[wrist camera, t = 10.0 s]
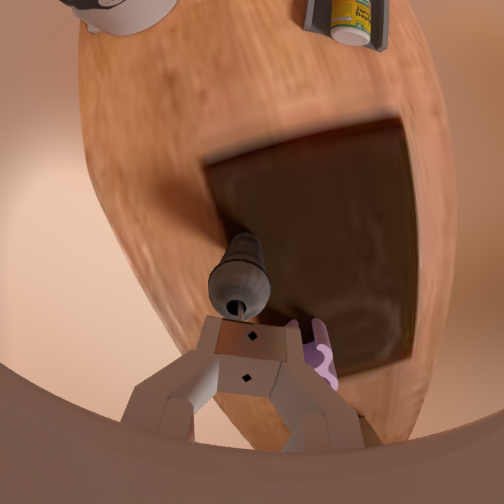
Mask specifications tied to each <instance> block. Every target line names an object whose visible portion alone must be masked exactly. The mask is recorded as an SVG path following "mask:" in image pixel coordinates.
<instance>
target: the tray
mask: <svg viewBox="0 0 504 504" xmlns="http://www.w3.org/2000/svg"><path fill="white" fill-rule="evenodd" d="M369 2H370V4H371V34H370V41H369V43H368V44H366V45H362V46H364V47H367V48H370V49H373V50H376V51H378V52H382V51H383V50H385V49H387V45H388V28H389V0H369ZM331 14H332V0H307V5H306V12H305V19H304V26H303V30H305V31H310V32H314V33H319V34H323V35H327V36H331ZM331 37H332V36H331Z"/></svg>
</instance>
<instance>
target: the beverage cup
mask: <svg viewBox="0 0 504 504" xmlns="http://www.w3.org/2000/svg"><path fill="white" fill-rule="evenodd" d="M208 291H209V299H210V301H211V303H212V305H213V307H214V309H215V310H216V311H217V312H218V313H219V314H220V315H222V316H224V317H225V318H227V319H232V320H238V321H243V320H248V319H251V318H252V317H254V316H256V315H258V314H259V313H260V312H261V311H262V310H263V309H264V307H265V305H266V303H267V301H268V299H269V295H270V293H271V281H270V278H269V275H268V274H267V272H266V269H265V264H264V258H263V252H262V248H261V244H260V241H259V239H258V238H257V237H256V236H255V235H253V234H251V233H240V234H238V235H236V236H235V237H234V239H233V240H232V241H231V243H230V244H229V246H228V248H227V250H226V252H225V254H224V256H223V258H222V259H221V261H220V263H219V264H218V265H217V266H216V267H215V268H214V270H213V271H212V272H211V273H210V277H209V280H208Z"/></svg>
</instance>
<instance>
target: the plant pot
mask: <svg viewBox="0 0 504 504" xmlns="http://www.w3.org/2000/svg"><path fill="white" fill-rule="evenodd" d="M358 419H359V423H360V428H361V432H362V437H363V442H364V447H365V448H366V447H373V446H380V445H383V444H382V442H381V440H380V438H379V437H378V435H377V434H376V432H375V431H374V429H373V428H372V427H371V425H370V424H369V423H368V422H367V420H366V419H365V418H363V417H358Z"/></svg>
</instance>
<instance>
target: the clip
mask: <svg viewBox="0 0 504 504" xmlns="http://www.w3.org/2000/svg"><path fill="white" fill-rule="evenodd" d="M311 322H312V327H313V332H314V338H315V340H314V341H312V342H311V343H308V344H302V346H303V353H304V360H305V364H309V365H311V366H312V368H313V369H314V370H315V371H316V372H317V373H318V374H319V375H320V376H321V377H322V378H323V379H324V380H325V381H326V382H327V383H328V384H329V385H330V386H331V387H332V388H333V389H334V390H335V391H336V390H337V388H338V380H337V376H336V371H335V367H334V363H333V354H332V350H331V346H330V342H329V338H328V334H327V330H326V326H325V324H324V323H323V322H322V321H321V320H319V319H317V318H314V319H312V321H311ZM285 327H297V328H299V326H298V321H297V320H292V321H290V322H289V323H288V324H287V325H286V326H285Z"/></svg>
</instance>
